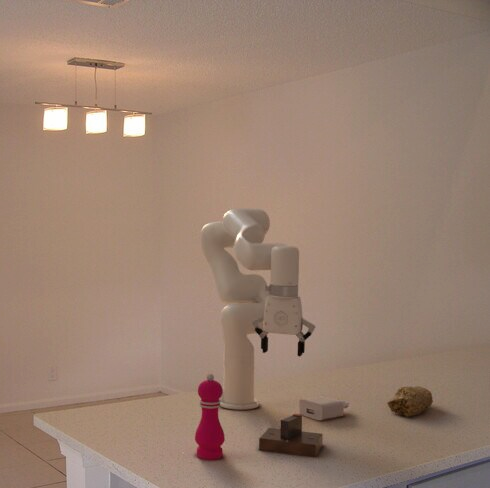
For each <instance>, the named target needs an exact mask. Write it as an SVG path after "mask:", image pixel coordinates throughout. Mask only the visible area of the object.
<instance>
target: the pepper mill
mask: <svg viewBox="0 0 490 488" xmlns="http://www.w3.org/2000/svg"><path fill="white" fill-rule="evenodd" d="M222 386H223V385H221V383H220V382H219V381H218V380H215V376H214V374H213V373H208V374H207V375H206V380H202V382H200V384H199V385H198V387H197V395H198V397H199V398H200V399H199V407H201V418H200V420H199V423H198V426H197V427H196V430H195V434H194V441H195V443H196V445H198V447H197V448H196V457H198V458H199V459H201V460H207V461H208V460H211V461H212V460H218V459H222V457H223V454H224V453H223V452H224V451H223V447H221V446H223V444H224V443H225V440H226V439H225V432H224V429H223V427H222V425H221V421H220V418H219V408H220V407H221V406H220V400H219V399H220V397H221V396H222V393H223V390H222V389H223V387H222Z"/></svg>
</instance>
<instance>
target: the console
mask: <svg viewBox="0 0 490 488" xmlns="http://www.w3.org/2000/svg"><path fill="white" fill-rule="evenodd" d="M280 432H281V428H276V427H268V428H267V429H266V430H265V431H264V432H263V434H261V435H260V436H259V438H258V450H259V451H263V452H264V451H265V452H272V453H280V454H281V453H282V454H287V455H288V454H289V455H296V456H305V457H313V458H316V457H317V455H318V454H319V452H320V450H321V448H322V447H323V440H324V439H323V437H324V436H323V435H324V434H323V433H319V432H310V431H303V430H302V434H299V435H297V436H295V437H293V438H290V439H283V438H280Z"/></svg>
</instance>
